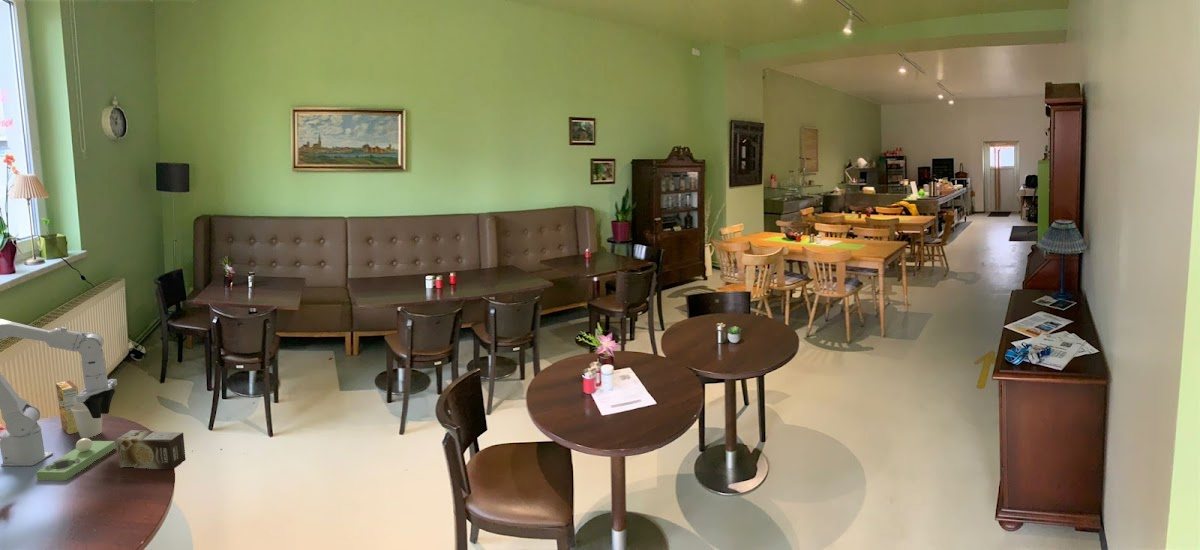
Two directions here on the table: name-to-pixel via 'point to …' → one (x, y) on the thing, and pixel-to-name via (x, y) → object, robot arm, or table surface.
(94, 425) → the dixie cup
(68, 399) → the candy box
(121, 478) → the table surface
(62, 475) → the putting mat
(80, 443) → the ball
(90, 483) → the table surface
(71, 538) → the table surface
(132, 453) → the coffee box
